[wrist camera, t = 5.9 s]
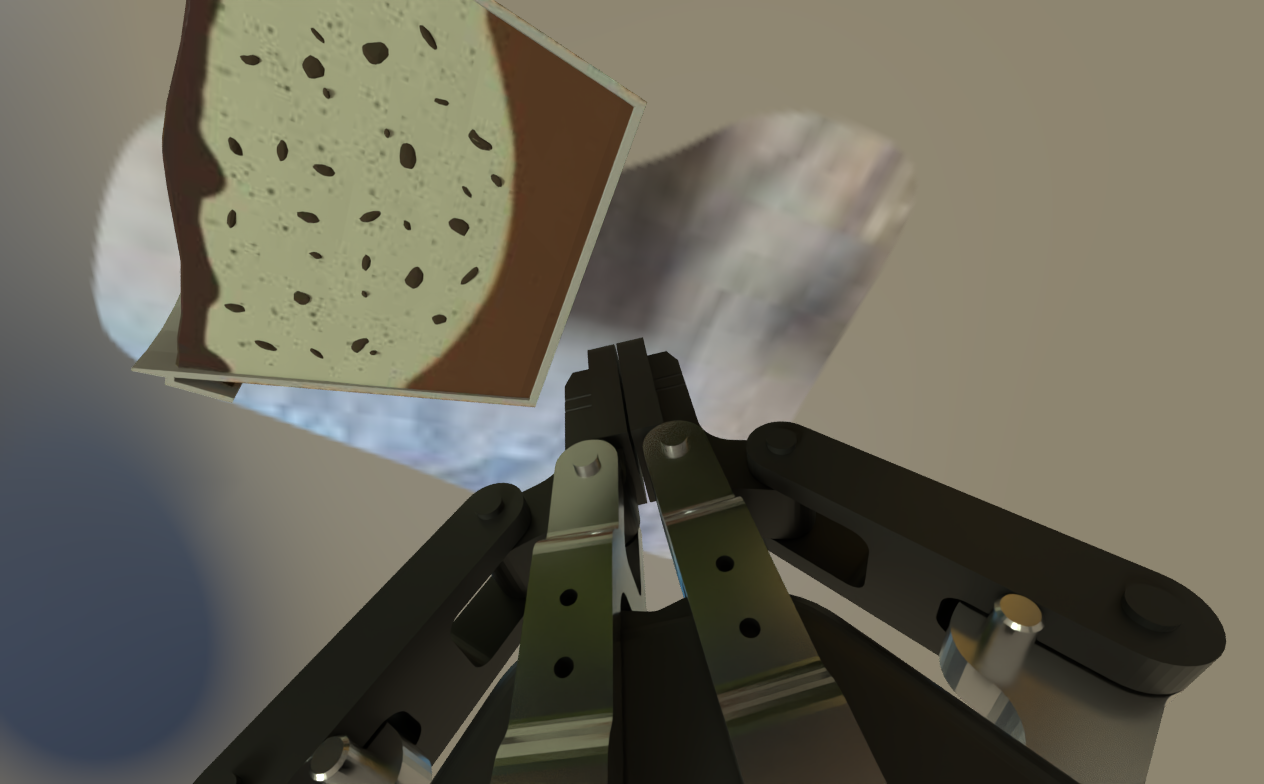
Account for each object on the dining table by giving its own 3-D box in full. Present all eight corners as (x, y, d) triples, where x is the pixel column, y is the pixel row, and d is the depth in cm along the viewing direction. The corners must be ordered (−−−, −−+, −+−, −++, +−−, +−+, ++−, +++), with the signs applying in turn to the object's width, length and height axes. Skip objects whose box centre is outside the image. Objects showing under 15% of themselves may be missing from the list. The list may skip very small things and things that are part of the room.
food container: (605, 42, 17) (242, -155, 13) (671, 35, 12) (115, -293, 8) (503, 358, 22) (217, 296, 18) (521, 443, 17) (130, 389, 13)
